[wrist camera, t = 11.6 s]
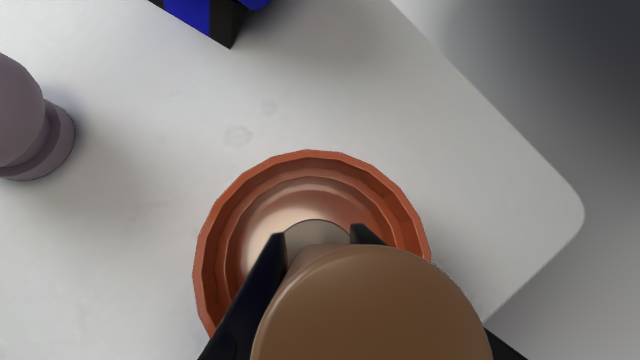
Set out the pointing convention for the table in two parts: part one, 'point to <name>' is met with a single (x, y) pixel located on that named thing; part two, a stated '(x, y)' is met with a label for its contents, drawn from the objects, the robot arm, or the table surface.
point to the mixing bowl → (294, 218)
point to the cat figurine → (29, 126)
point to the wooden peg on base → (364, 304)
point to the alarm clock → (213, 15)
